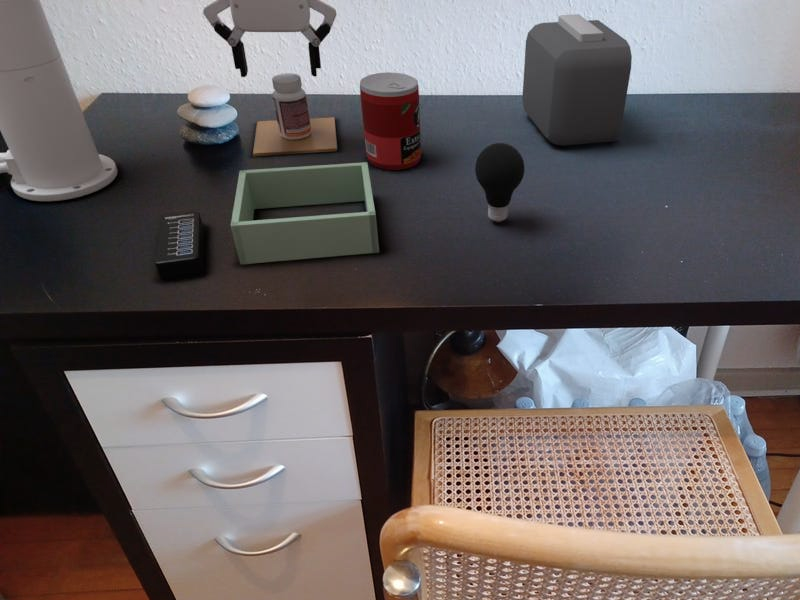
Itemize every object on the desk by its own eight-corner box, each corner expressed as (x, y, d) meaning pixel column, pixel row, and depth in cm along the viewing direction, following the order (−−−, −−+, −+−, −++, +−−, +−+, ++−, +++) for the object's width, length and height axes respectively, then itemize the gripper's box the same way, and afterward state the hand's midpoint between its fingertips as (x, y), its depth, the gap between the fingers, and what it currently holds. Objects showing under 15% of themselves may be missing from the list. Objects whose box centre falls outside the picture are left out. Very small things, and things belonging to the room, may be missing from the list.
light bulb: (497, 205, 86) (500, 130, 79) (530, 222, 83) (536, 146, 76) (464, 221, 83) (465, 144, 76) (497, 239, 80) (501, 160, 73)
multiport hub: (160, 281, 72) (154, 263, 70) (165, 231, 79) (159, 214, 78) (203, 275, 73) (197, 257, 71) (203, 226, 80) (198, 209, 79)
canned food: (413, 173, 92) (409, 94, 85) (359, 167, 93) (350, 88, 86) (427, 151, 98) (425, 74, 91) (376, 145, 99) (369, 69, 92)
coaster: (253, 156, 95) (252, 153, 95) (257, 124, 104) (257, 121, 104) (337, 151, 97) (337, 148, 97) (334, 120, 106) (334, 117, 106)
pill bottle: (318, 132, 101) (310, 76, 95) (296, 143, 98) (286, 85, 92) (295, 125, 103) (286, 69, 97) (273, 135, 100) (262, 78, 94)
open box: (240, 264, 74) (230, 225, 71) (248, 206, 84) (239, 170, 81) (379, 252, 77) (375, 214, 73) (370, 197, 87) (367, 161, 83)
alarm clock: (618, 147, 100) (636, 37, 90) (547, 153, 98) (557, 42, 88) (580, 107, 112) (592, 7, 102) (516, 112, 110) (522, 10, 100)
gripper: (329, -70, 87) (340, 65, 98) (191, -75, 84) (218, 66, 95) (330, -61, 82) (342, 81, 93) (183, -65, 79) (213, 83, 90)
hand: (279, 73), depth 94 cm, fingers open, 9 cm apart
